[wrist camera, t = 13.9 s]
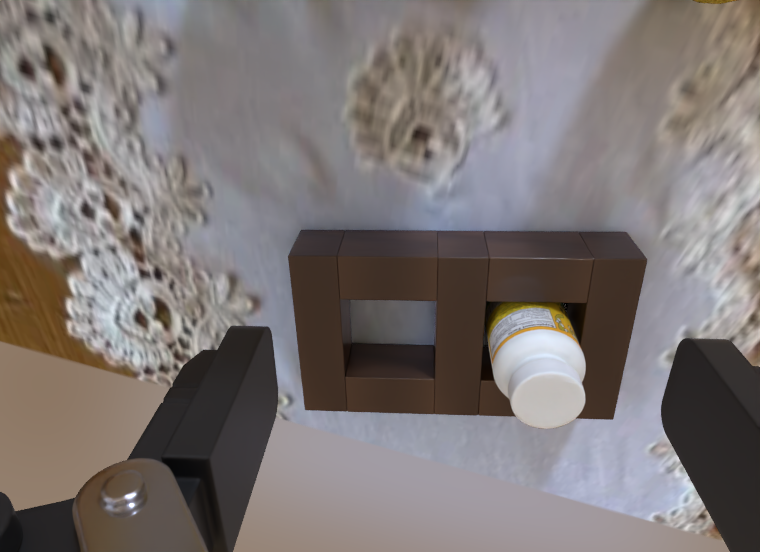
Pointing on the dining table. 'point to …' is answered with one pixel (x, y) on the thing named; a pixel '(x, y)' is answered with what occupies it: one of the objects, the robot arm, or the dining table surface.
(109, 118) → the dining table surface
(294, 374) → the dining table surface
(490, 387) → the holder
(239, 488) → the robot arm
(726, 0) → the lemon
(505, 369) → the supplement bottle
